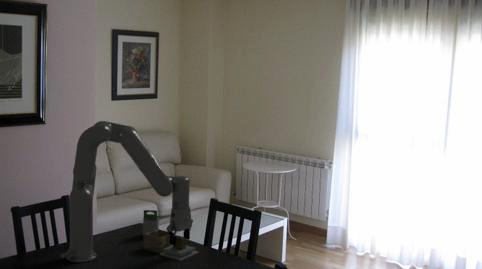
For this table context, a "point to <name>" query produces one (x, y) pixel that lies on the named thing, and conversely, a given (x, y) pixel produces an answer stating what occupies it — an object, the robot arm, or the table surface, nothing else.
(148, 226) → the ink box
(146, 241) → the keepsake box
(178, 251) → the lid
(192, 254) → the felt mat
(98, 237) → the table surface
